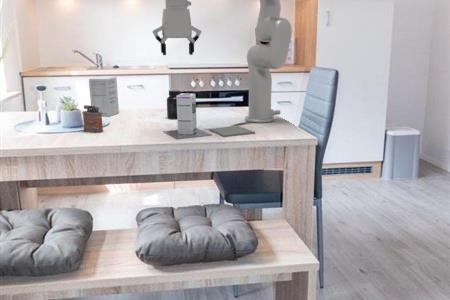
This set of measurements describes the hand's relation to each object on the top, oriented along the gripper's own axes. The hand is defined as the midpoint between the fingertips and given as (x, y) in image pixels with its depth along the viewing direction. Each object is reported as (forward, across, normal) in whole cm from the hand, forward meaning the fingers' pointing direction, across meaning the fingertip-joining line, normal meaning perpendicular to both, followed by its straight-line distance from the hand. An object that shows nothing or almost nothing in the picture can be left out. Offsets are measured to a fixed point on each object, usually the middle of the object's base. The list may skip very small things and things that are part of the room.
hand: (177, 54), depth 163 cm
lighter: (+29, +31, -11) cm, 44 cm away
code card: (+29, -2, +2) cm, 29 cm away
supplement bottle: (+29, -4, -31) cm, 42 cm away
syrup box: (+29, -2, +2) cm, 29 cm away
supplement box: (+29, +26, -48) cm, 62 cm away
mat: (+29, -19, +4) cm, 35 cm away
